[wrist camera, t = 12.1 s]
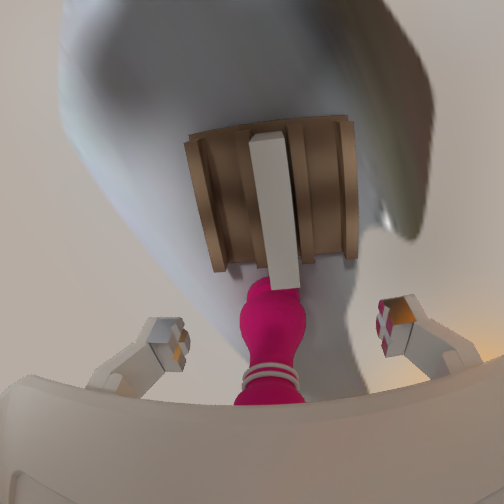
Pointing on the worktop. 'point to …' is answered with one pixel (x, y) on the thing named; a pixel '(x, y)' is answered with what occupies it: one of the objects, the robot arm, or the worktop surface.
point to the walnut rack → (301, 181)
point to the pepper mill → (271, 345)
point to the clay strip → (275, 208)
